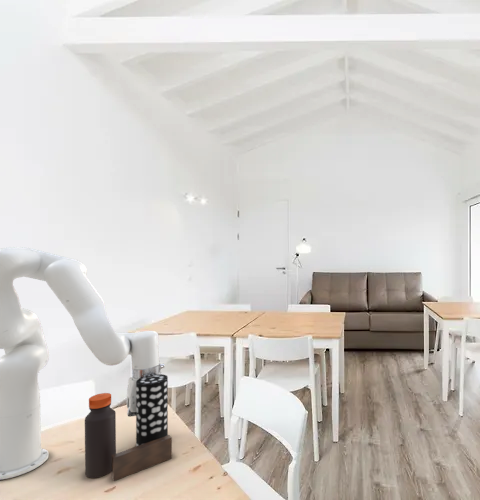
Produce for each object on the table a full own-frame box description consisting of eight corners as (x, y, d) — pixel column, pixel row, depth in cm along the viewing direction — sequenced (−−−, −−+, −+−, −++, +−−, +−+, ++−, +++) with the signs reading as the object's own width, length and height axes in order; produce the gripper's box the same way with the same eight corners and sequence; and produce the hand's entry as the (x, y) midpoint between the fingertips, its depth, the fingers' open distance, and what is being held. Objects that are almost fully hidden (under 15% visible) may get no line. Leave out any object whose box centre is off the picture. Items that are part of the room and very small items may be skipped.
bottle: (113, 474, 93) (112, 399, 93) (81, 481, 91) (80, 404, 90) (118, 460, 99) (117, 389, 99) (89, 466, 97) (88, 393, 97)
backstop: (113, 481, 91) (113, 458, 90) (111, 477, 92) (111, 454, 92) (171, 458, 100) (171, 437, 100) (169, 455, 102) (169, 434, 102)
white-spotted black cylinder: (157, 453, 103) (157, 384, 103) (129, 452, 103) (129, 384, 103) (173, 437, 111) (173, 374, 111) (147, 437, 111) (146, 374, 111)
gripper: (167, 362, 119) (168, 416, 119) (115, 375, 108) (116, 434, 109) (175, 368, 113) (176, 424, 114) (121, 381, 103) (122, 443, 103)
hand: (147, 429), depth 111 cm, fingers closed
